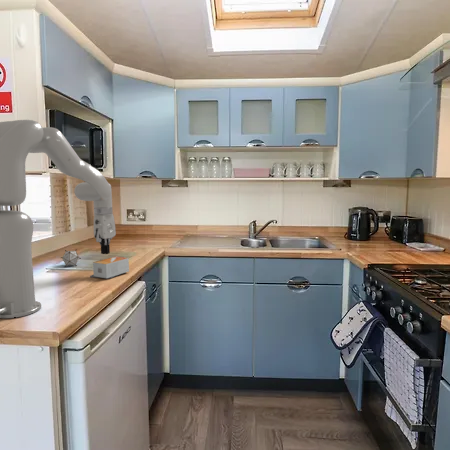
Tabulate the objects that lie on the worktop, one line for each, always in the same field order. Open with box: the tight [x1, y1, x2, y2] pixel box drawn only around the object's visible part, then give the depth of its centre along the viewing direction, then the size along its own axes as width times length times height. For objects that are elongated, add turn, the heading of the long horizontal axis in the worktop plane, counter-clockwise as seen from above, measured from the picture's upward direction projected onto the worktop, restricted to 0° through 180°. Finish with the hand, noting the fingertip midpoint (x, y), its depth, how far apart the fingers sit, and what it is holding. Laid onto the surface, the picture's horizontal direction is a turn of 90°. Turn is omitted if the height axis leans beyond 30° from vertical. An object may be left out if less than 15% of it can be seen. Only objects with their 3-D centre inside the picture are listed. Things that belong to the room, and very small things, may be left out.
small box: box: [92, 256, 130, 279], centre depth 146 cm, size 8×6×13 cm
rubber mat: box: [89, 273, 118, 279], centre depth 147 cm, size 11×10×1 cm
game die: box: [60, 249, 82, 268], centre depth 164 cm, size 9×8×10 cm
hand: (105, 253), depth 145 cm, fingers closed
